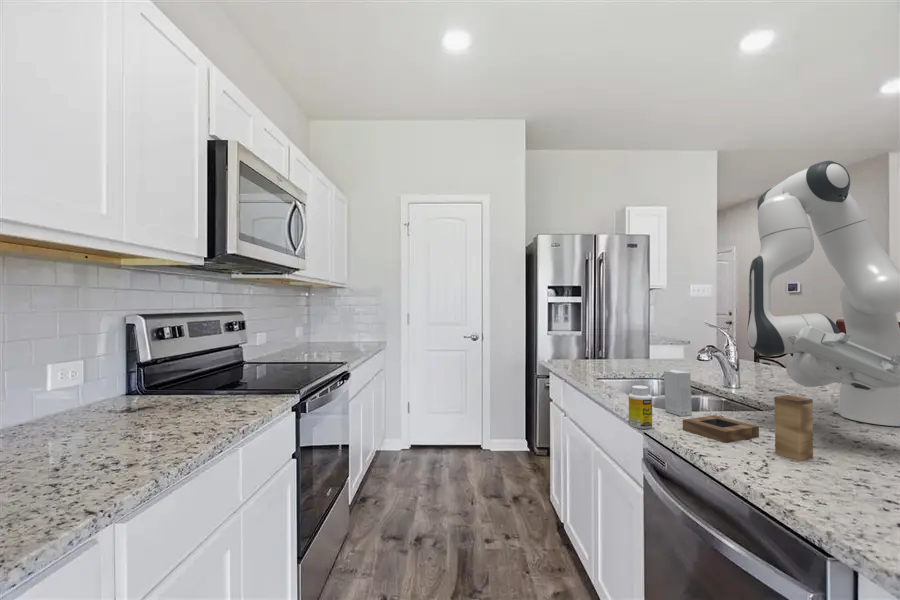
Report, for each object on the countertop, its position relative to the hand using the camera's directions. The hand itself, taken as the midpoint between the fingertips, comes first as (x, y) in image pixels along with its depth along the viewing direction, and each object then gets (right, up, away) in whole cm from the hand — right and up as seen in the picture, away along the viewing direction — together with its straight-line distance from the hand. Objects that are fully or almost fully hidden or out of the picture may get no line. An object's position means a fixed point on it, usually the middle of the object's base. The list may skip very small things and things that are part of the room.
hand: (872, 348), depth 89 cm
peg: (-14, -23, +3) cm, 27 cm away
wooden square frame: (-19, -23, +19) cm, 35 cm away
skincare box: (-19, -23, +38) cm, 49 cm away
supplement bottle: (-36, -23, +25) cm, 49 cm away
